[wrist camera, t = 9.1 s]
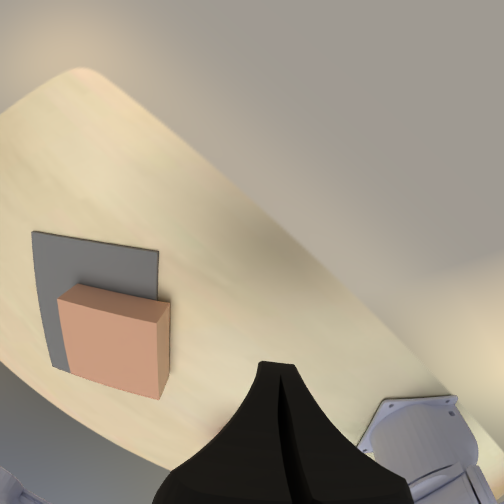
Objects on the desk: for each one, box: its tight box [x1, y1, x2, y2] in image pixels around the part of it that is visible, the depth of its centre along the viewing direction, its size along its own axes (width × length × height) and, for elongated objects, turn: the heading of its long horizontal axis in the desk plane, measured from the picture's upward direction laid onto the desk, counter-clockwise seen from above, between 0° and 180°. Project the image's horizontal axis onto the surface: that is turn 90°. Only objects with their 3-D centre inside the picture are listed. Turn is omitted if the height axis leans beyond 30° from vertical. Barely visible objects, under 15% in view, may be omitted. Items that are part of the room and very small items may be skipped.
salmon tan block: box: [57, 283, 170, 400], centre depth 21 cm, size 3×7×8 cm
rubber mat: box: [31, 231, 159, 386], centre depth 23 cm, size 12×14×1 cm
